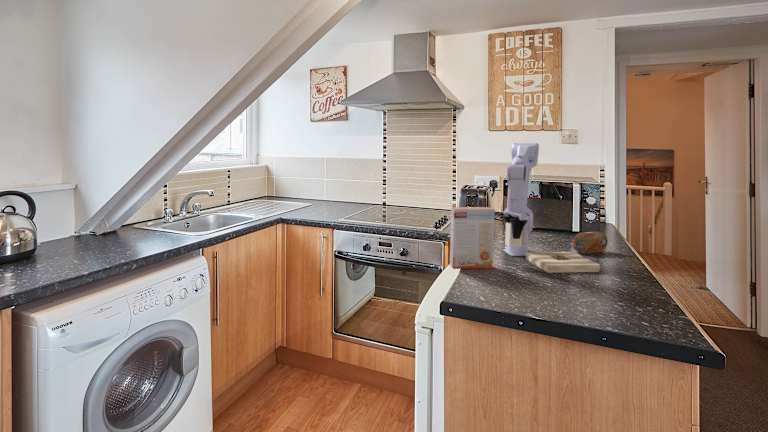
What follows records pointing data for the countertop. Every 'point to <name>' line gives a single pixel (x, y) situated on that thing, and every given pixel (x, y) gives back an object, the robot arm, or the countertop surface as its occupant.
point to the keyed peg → (509, 237)
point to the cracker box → (472, 237)
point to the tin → (589, 242)
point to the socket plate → (562, 262)
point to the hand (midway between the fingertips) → (513, 237)
